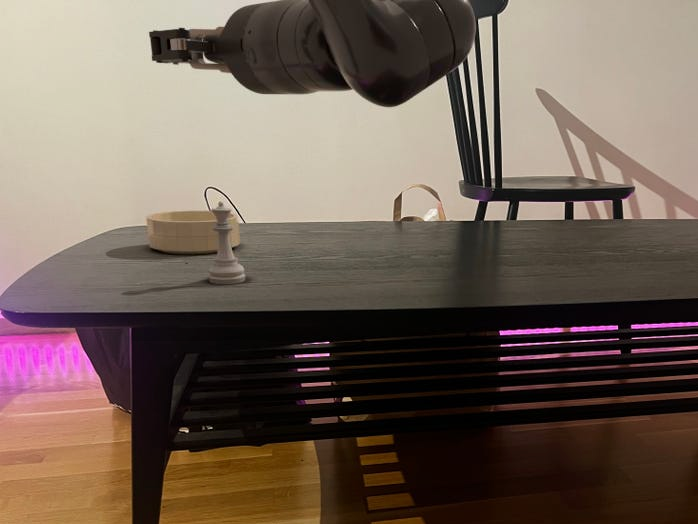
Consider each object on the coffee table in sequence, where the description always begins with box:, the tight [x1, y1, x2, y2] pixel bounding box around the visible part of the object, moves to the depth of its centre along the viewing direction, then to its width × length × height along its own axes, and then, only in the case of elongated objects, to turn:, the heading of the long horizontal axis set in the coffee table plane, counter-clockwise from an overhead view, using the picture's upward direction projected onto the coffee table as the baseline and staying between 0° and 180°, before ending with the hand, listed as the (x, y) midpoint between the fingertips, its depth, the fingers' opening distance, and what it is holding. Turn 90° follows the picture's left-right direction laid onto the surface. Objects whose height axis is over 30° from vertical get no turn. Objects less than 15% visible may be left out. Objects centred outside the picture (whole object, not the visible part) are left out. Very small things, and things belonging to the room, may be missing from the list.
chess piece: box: [208, 201, 246, 285], centre depth 88 cm, size 4×4×10 cm
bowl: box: [145, 209, 241, 255], centre depth 109 cm, size 13×13×5 cm
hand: (201, 55), depth 72 cm, fingers open, 8 cm apart
